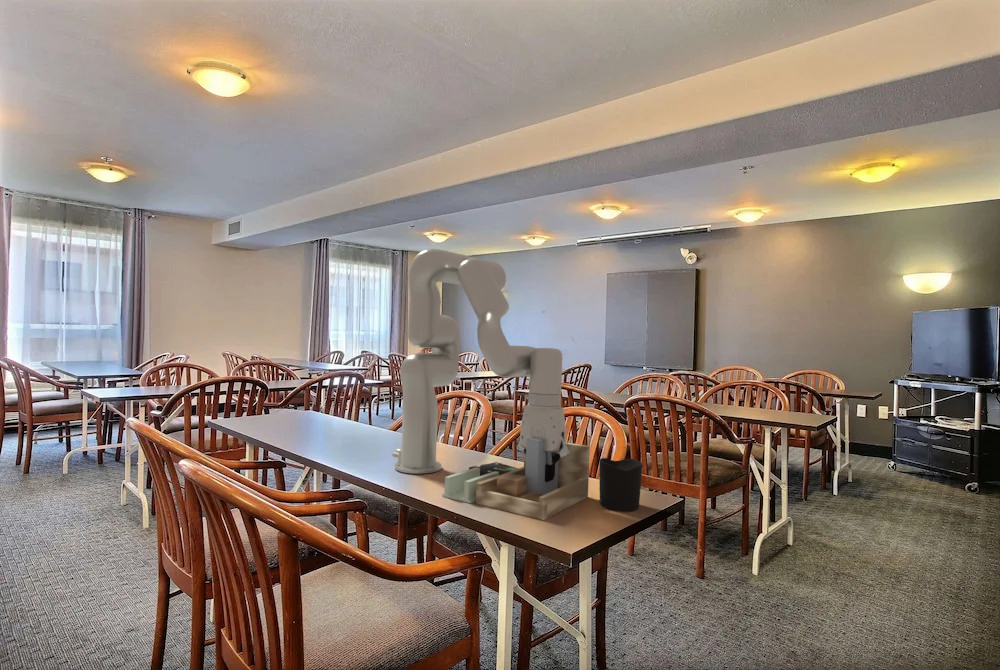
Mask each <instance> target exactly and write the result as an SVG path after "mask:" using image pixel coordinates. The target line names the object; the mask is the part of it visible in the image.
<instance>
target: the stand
mask: <svg viewBox="0 0 1000 670" xmlns="http://www.w3.org/2000/svg"><path fill="white" fill-rule="evenodd" d="M477 467H478V466H477ZM477 467H476V468H473V469H469V468H468V469H467V470H463V471H459V472H457V473H453V474H450V475H447V476H445V477H444V493H442V494H441V495H442V498H446V499H447V498H448V499H451V500H456V501H458V500H459V502H462V501H463V502H464V503H466V502H467V504H473V503H474V502H475V503H476V488H477V483H478V482H481V481H484V480H487V479H490V478H493V477H496V476H499V472H496V471H494V472H491V473H488V474H485V475H482V476H480V468H477Z"/></svg>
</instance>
